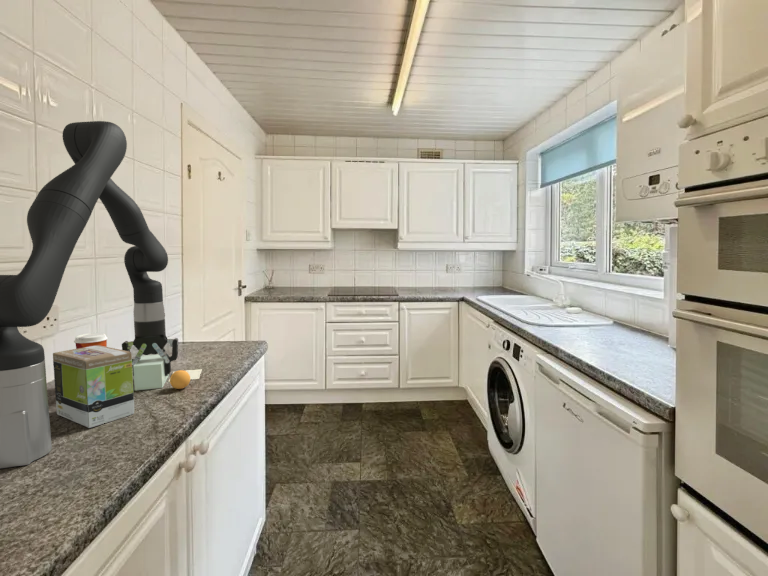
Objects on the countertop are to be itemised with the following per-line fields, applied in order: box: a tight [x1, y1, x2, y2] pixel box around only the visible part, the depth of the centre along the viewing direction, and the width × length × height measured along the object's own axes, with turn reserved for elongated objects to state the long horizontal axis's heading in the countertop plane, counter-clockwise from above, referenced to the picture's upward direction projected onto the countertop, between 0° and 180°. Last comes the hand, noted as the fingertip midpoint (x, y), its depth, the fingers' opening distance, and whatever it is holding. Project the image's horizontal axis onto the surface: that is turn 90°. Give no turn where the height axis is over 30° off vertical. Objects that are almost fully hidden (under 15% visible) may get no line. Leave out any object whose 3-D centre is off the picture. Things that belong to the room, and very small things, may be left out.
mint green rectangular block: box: [132, 354, 170, 391], centre depth 118 cm, size 12×7×7 cm, turn 19°
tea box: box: [52, 345, 135, 429], centre depth 95 cm, size 15×10×15 cm
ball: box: [169, 369, 191, 390], centre depth 113 cm, size 5×5×5 cm
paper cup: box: [73, 332, 109, 349], centre depth 116 cm, size 8×8×14 cm
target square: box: [168, 368, 203, 383], centre depth 125 cm, size 10×8×1 cm
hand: (152, 376), depth 118 cm, fingers closed on mint green rectangular block, 6 cm apart
